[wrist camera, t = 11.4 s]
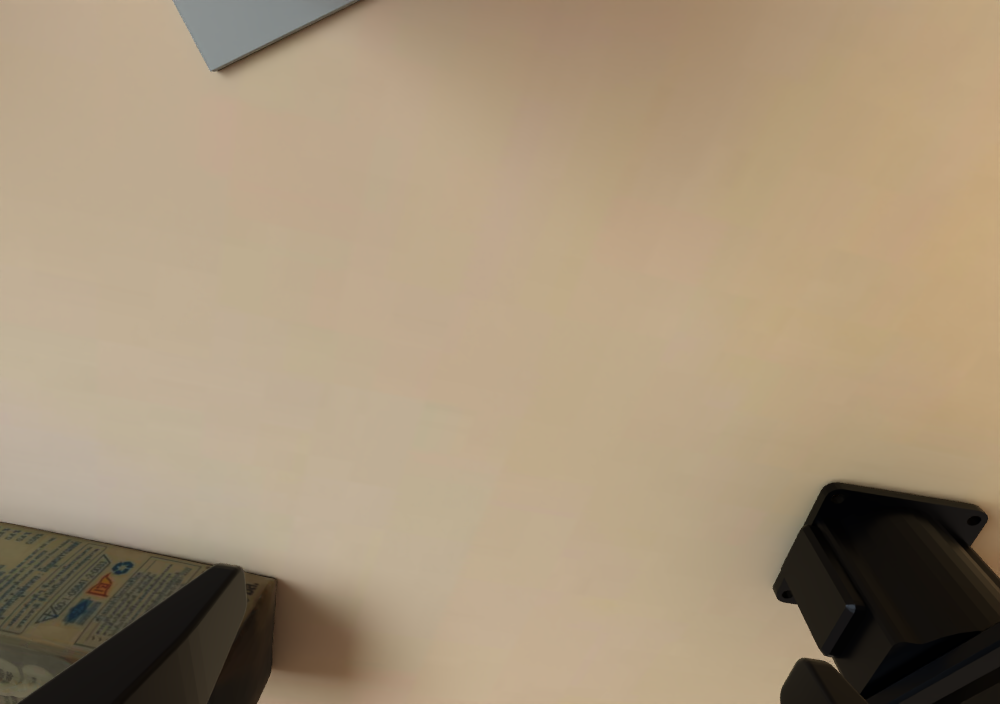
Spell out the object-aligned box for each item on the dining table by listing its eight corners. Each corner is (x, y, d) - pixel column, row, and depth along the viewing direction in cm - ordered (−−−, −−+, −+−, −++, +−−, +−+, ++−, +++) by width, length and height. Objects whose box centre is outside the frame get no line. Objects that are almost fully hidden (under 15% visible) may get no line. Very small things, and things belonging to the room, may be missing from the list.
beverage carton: (-99, 490, 27) (-277, 602, 21) (286, 567, 28) (215, 698, 22) (-59, 601, 31) (-203, 724, 25) (283, 668, 31) (221, 805, 25)
